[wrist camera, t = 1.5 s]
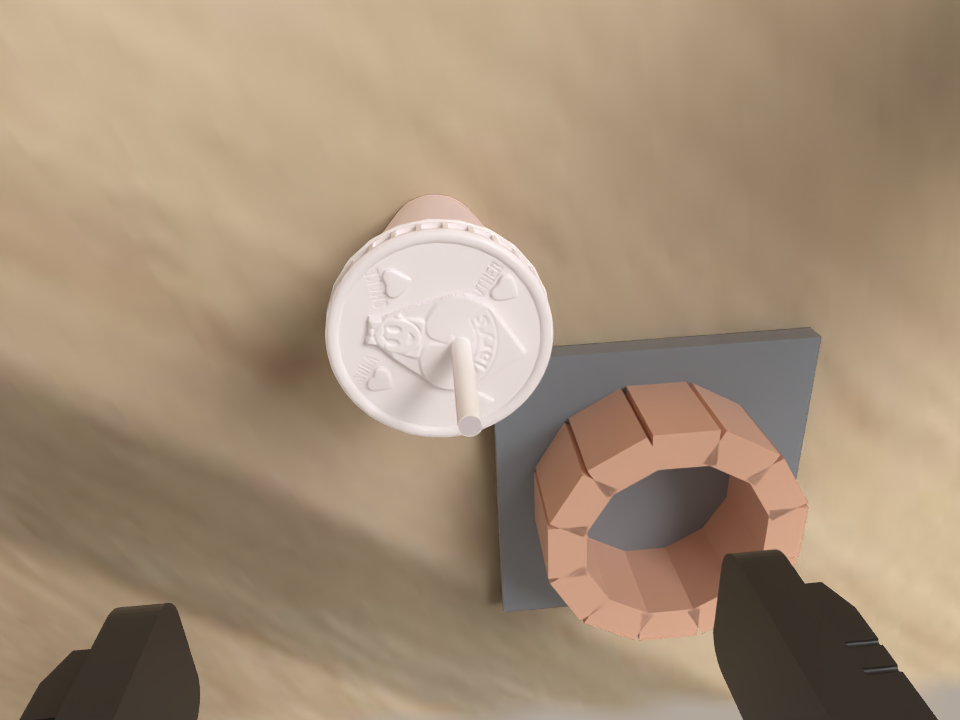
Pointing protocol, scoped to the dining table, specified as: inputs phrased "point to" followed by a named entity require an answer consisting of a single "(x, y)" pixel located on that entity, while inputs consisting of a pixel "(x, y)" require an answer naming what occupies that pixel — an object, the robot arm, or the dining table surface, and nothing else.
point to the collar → (652, 475)
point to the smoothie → (438, 323)
